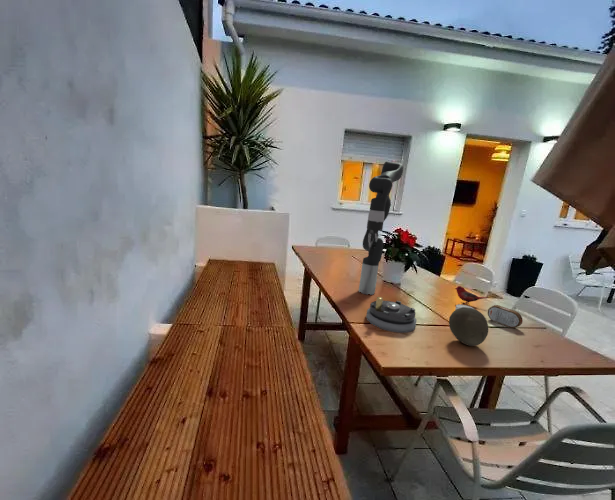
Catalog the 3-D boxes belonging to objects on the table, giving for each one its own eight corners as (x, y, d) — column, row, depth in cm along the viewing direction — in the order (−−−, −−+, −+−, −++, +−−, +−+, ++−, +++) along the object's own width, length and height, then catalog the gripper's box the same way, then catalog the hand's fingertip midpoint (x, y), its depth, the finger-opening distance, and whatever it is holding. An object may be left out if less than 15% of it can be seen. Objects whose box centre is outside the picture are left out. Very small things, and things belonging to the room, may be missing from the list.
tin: (520, 329, 148) (524, 313, 146) (518, 331, 146) (522, 314, 144) (487, 317, 159) (491, 302, 158) (485, 318, 158) (488, 303, 156)
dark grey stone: (477, 339, 132) (484, 306, 129) (488, 355, 118) (497, 319, 116) (442, 332, 135) (449, 300, 132) (449, 347, 121) (457, 312, 118)
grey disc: (392, 304, 154) (395, 288, 152) (424, 321, 137) (427, 303, 135) (360, 308, 144) (363, 290, 143) (390, 326, 127) (393, 306, 126)
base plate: (381, 308, 156) (382, 303, 156) (423, 324, 142) (424, 318, 141) (357, 318, 140) (357, 312, 140) (401, 337, 126) (402, 330, 125)
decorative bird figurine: (451, 300, 182) (455, 284, 180) (485, 307, 176) (489, 290, 174) (452, 302, 179) (455, 285, 177) (486, 308, 173) (490, 291, 171)
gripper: (365, 218, 155) (360, 251, 158) (371, 220, 142) (366, 257, 145) (379, 219, 155) (374, 253, 158) (387, 222, 142) (381, 258, 145)
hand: (370, 255), depth 152 cm, fingers closed
